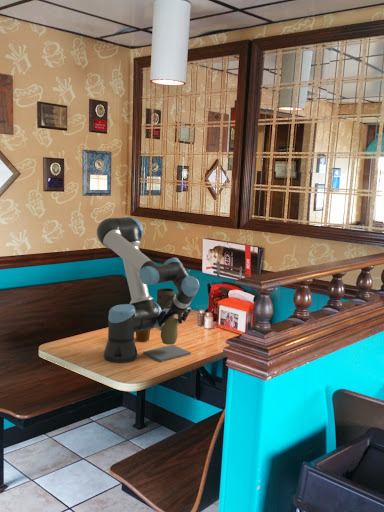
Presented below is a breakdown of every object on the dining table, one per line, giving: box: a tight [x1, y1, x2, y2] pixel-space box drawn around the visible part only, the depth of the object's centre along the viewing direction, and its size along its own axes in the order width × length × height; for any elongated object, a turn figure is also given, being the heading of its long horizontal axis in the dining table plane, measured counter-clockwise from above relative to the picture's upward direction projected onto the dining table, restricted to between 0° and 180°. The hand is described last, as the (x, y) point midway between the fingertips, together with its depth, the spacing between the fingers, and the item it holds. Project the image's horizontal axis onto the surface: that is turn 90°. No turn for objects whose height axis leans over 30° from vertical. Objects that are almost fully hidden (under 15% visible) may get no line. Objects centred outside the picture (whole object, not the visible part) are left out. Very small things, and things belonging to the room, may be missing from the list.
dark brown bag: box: [155, 287, 176, 310], centre depth 291 cm, size 15×11×20 cm
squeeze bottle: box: [160, 305, 179, 346], centre depth 247 cm, size 8×8×18 cm
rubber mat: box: [142, 344, 192, 363], centre depth 248 cm, size 18×13×1 cm
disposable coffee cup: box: [135, 329, 152, 343], centre depth 266 cm, size 10×10×12 cm
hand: (166, 327), depth 251 cm, fingers closed on squeeze bottle, 6 cm apart
